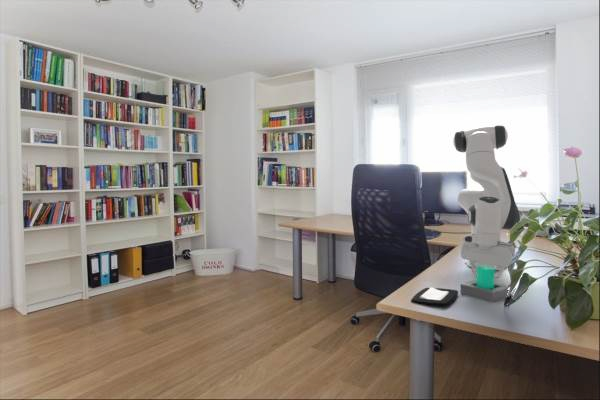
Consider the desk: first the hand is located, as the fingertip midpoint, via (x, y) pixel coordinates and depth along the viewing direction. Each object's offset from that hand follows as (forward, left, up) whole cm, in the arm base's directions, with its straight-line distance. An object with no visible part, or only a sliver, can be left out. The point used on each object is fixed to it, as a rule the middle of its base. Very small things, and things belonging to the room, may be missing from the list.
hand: (486, 274), depth 146 cm
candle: (0, 0, -8) cm, 8 cm away
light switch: (+20, -8, -8) cm, 23 cm away
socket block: (0, 0, -8) cm, 8 cm away
